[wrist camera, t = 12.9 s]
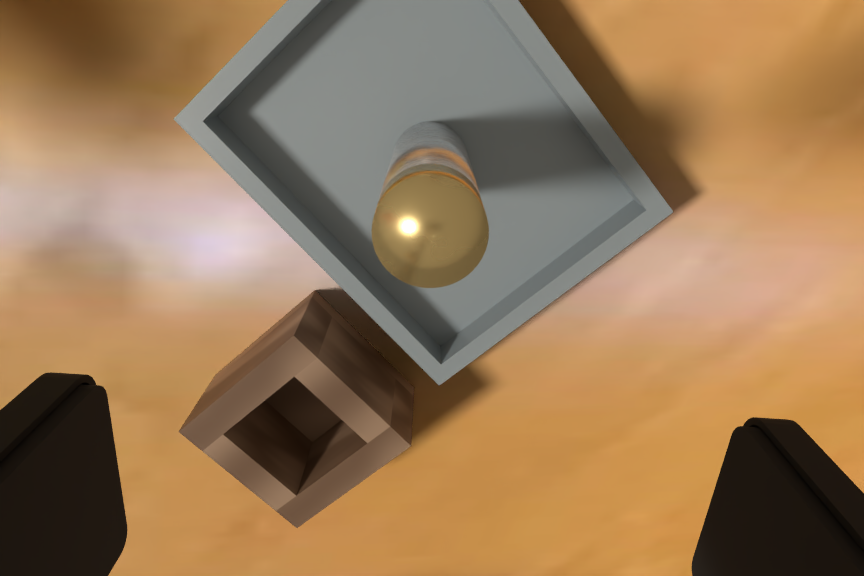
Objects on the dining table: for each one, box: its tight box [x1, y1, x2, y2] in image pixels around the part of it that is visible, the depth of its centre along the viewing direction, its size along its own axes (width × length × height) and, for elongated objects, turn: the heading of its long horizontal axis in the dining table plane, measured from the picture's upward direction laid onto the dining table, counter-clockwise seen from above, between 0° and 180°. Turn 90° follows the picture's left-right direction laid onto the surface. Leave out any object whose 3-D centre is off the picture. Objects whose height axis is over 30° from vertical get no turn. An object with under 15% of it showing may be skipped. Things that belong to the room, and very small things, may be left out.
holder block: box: [179, 291, 414, 528], centre depth 36 cm, size 9×9×6 cm
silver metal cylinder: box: [371, 122, 489, 288], centre depth 27 cm, size 4×4×13 cm
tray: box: [174, 0, 673, 385], centre depth 32 cm, size 20×16×3 cm
